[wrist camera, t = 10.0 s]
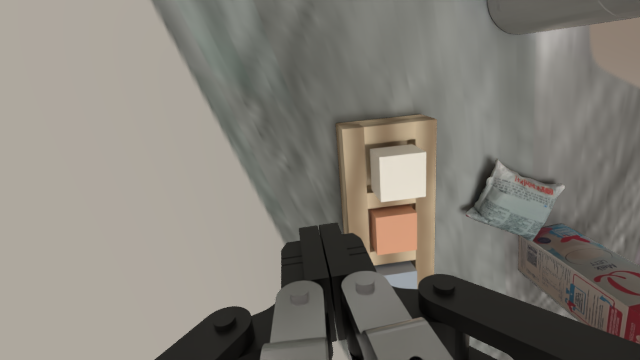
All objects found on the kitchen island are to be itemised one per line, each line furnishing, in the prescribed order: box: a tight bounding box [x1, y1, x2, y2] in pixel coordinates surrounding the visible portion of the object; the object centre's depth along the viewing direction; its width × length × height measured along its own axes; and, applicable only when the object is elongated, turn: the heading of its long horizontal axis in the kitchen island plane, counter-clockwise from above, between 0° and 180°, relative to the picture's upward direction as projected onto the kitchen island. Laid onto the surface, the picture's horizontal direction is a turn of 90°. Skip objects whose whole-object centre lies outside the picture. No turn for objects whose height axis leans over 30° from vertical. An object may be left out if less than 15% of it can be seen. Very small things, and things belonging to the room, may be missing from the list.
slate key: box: [374, 260, 417, 289], centre depth 46 cm, size 5×5×4 cm
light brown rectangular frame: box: [336, 114, 437, 289], centre depth 45 cm, size 11×26×5 cm, turn 5°
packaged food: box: [466, 159, 565, 241], centre depth 47 cm, size 9×12×5 cm
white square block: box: [370, 144, 426, 202], centre depth 38 cm, size 5×5×4 cm
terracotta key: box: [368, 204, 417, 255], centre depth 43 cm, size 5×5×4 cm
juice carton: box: [518, 224, 640, 344], centre depth 42 cm, size 7×7×22 cm
